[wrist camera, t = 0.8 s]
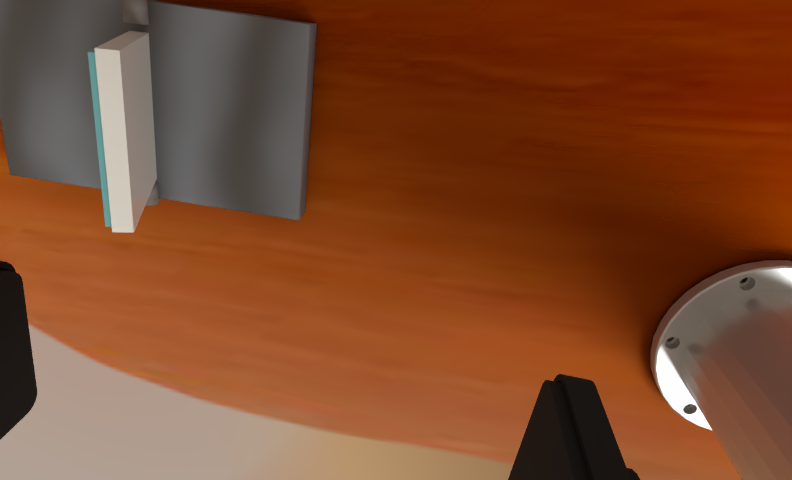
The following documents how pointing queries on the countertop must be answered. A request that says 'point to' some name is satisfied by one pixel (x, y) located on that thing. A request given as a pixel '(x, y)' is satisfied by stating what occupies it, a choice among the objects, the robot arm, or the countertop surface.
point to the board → (165, 99)
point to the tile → (124, 126)
